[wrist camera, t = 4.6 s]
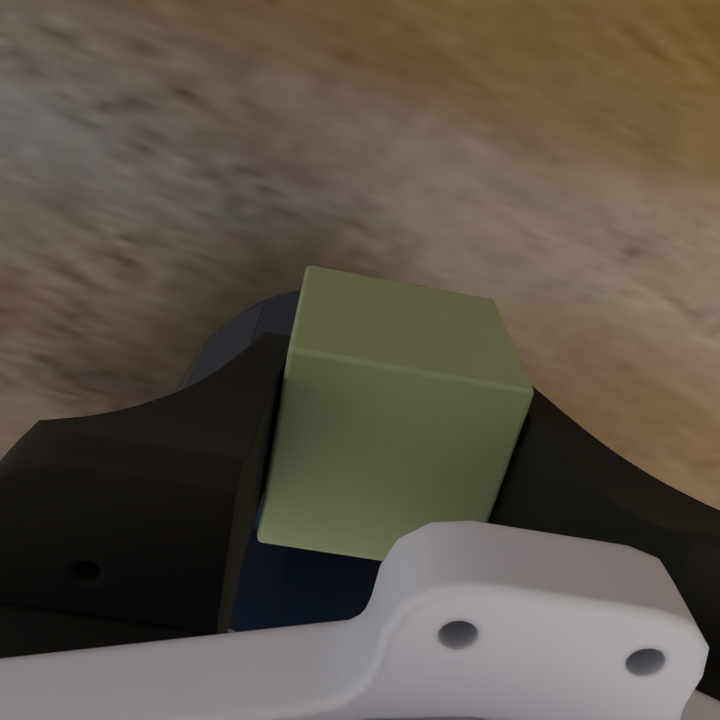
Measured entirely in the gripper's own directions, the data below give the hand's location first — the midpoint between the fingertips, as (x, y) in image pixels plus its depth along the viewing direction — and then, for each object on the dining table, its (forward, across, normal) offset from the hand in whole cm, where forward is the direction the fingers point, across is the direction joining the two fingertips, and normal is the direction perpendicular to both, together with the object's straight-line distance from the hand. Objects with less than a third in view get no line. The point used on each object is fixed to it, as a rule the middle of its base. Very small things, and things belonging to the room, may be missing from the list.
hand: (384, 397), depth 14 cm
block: (+1, 0, 0) cm, 1 cm away
